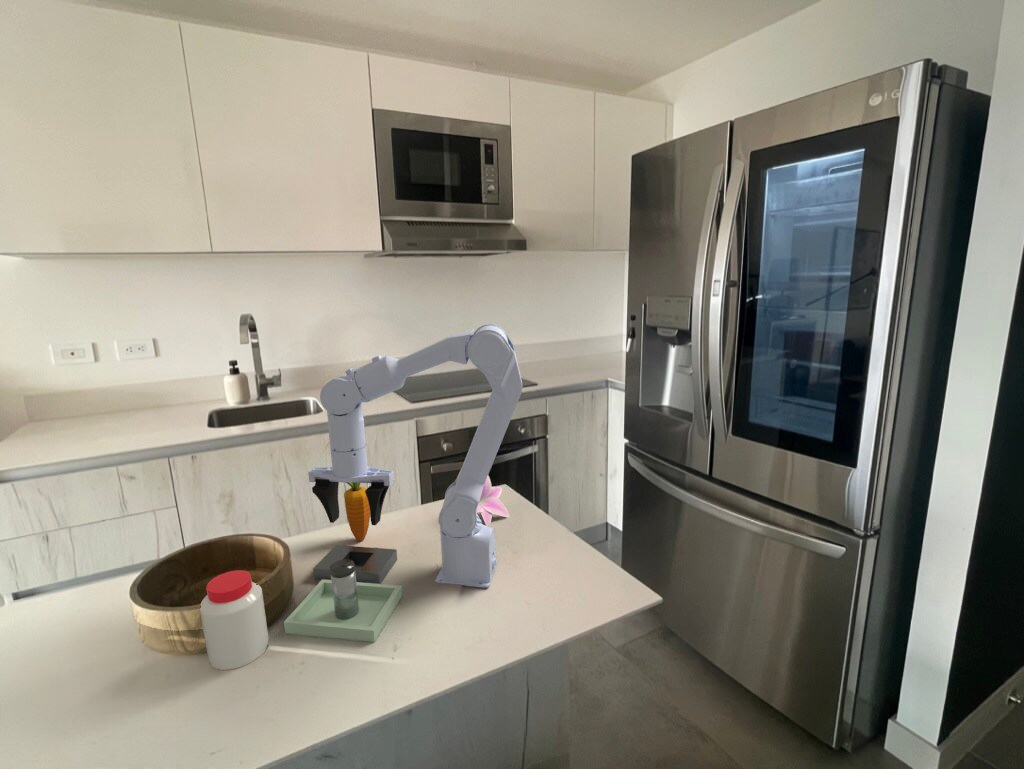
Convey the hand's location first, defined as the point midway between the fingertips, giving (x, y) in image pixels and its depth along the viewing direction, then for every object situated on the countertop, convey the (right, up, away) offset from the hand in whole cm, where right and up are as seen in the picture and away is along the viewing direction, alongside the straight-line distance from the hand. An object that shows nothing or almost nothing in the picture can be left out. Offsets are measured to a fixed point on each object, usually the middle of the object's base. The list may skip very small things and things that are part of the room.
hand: (355, 521), depth 90 cm
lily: (+21, -6, +23) cm, 32 cm away
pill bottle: (-12, -15, -16) cm, 24 cm away
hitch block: (-1, -10, +3) cm, 10 cm away
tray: (+1, -13, -9) cm, 15 cm away
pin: (+1, -12, -9) cm, 15 cm away
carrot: (-3, -8, +14) cm, 16 cm away
